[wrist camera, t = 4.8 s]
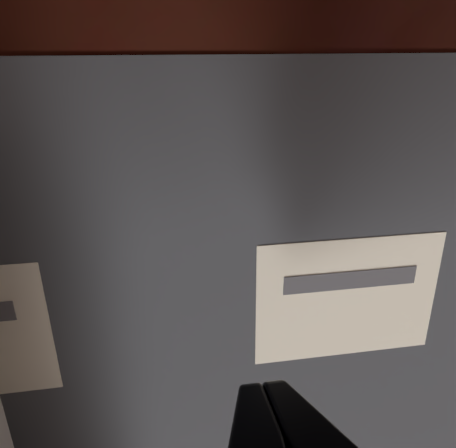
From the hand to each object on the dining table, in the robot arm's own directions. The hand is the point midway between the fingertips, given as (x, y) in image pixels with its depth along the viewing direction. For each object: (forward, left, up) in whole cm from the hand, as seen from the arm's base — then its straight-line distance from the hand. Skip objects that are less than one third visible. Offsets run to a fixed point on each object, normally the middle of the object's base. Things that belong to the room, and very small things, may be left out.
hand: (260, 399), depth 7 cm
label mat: (+2, +1, -3) cm, 4 cm away
